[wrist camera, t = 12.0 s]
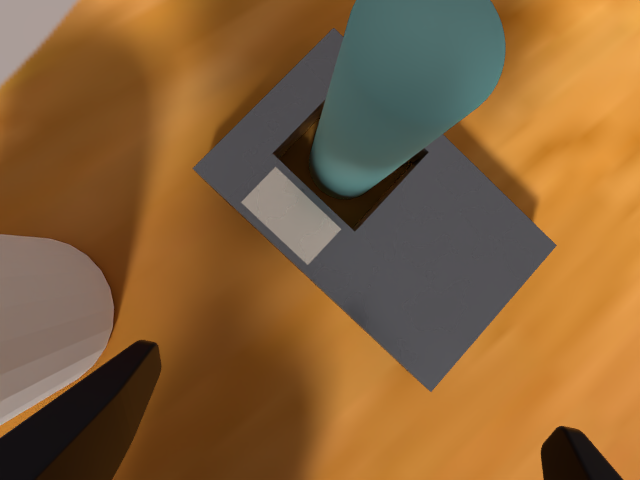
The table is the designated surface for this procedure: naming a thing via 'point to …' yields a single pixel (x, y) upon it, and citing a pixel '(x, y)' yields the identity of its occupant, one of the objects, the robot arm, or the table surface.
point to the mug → (48, 319)
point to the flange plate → (382, 229)
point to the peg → (402, 86)
